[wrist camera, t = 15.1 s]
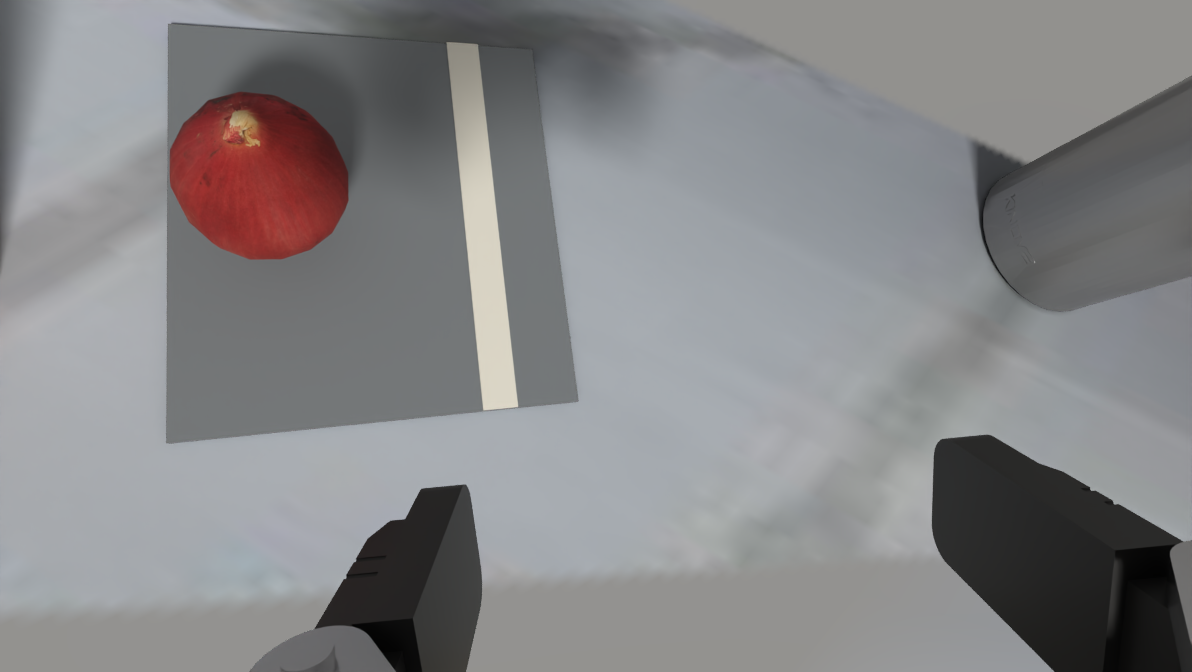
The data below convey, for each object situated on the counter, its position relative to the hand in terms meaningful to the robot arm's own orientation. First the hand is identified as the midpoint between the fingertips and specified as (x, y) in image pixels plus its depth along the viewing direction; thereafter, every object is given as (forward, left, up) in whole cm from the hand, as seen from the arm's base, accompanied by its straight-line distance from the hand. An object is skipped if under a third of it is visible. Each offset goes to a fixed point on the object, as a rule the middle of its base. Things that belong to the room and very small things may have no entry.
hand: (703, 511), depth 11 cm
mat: (+5, -13, -18) cm, 23 cm away
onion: (+9, -13, -18) cm, 24 cm away
